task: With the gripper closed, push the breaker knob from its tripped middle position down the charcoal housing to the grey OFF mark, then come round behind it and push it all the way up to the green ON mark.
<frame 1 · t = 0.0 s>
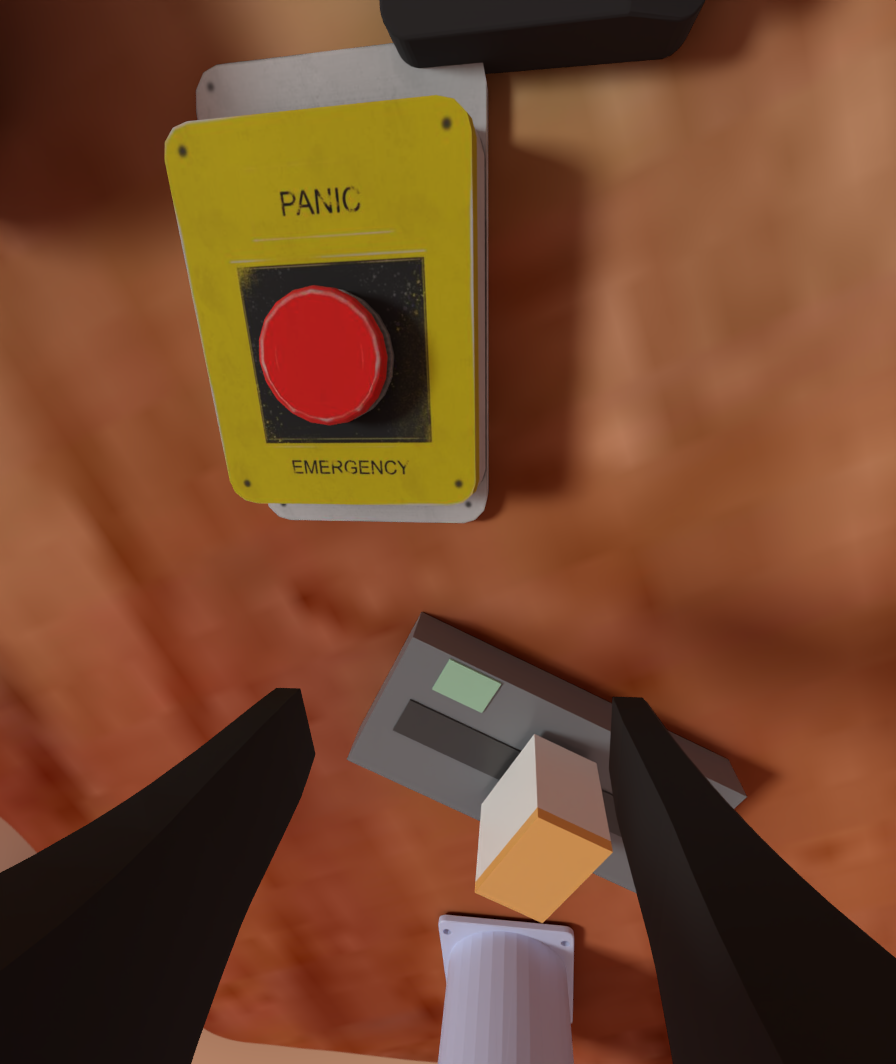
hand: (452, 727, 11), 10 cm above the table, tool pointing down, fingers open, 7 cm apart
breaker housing: (534, 743, 24), on the table
breaker knob: (538, 824, 20), point 4 cm above the table, slide at 5.0 cm
emergency button: (363, 324, 18), on the table, touching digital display
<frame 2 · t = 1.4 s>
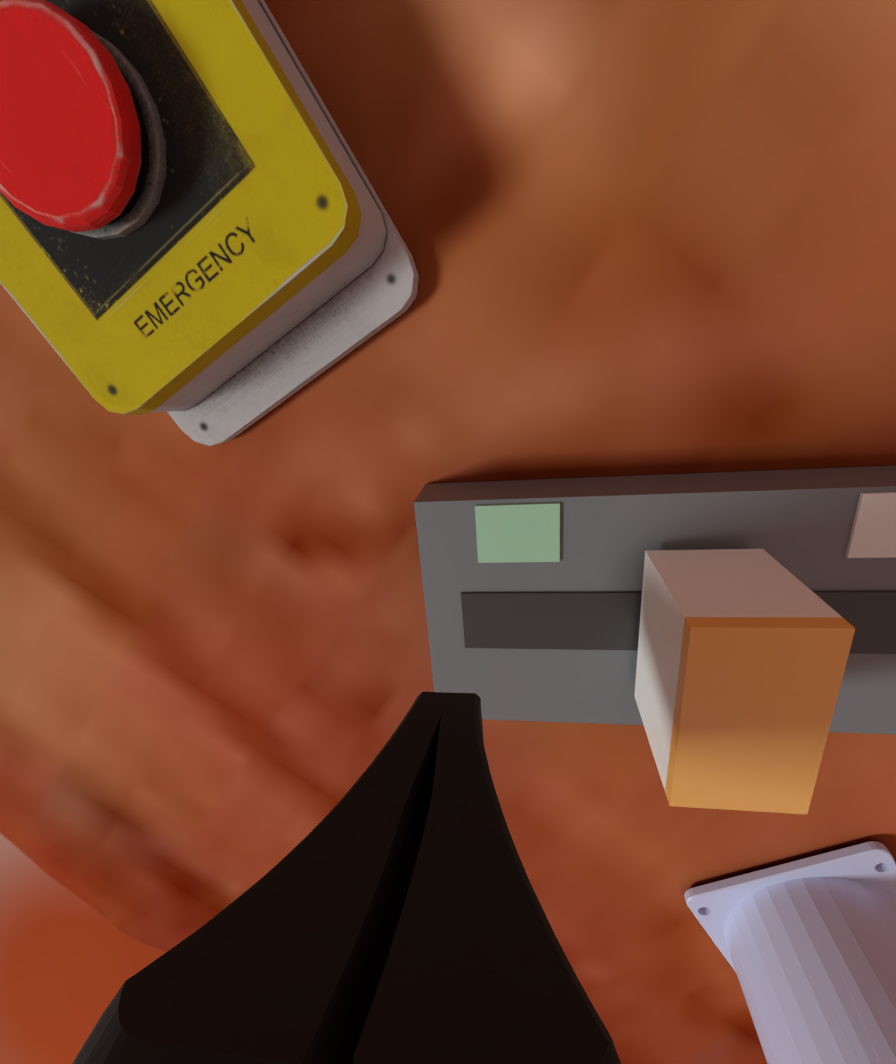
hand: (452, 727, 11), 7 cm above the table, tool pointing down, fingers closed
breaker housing: (669, 589, 16), on the table
breaker knob: (718, 670, 12), point 4 cm above the table, slide at 5.0 cm
emergency button: (158, 146, 14), on the table
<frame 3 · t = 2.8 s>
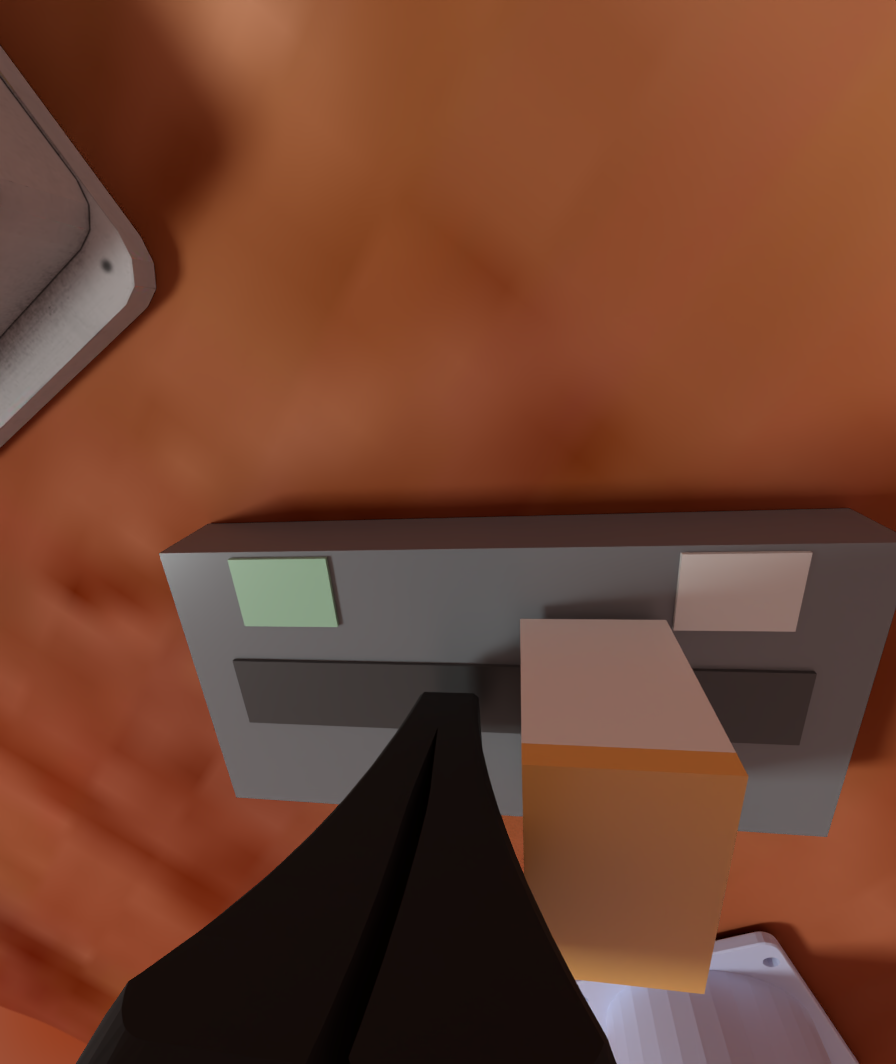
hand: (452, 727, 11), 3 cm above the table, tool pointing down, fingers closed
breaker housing: (502, 649, 14), on the table
breaker knob: (601, 784, 9), point 4 cm above the table, slide at 3.0 cm, touching gripper
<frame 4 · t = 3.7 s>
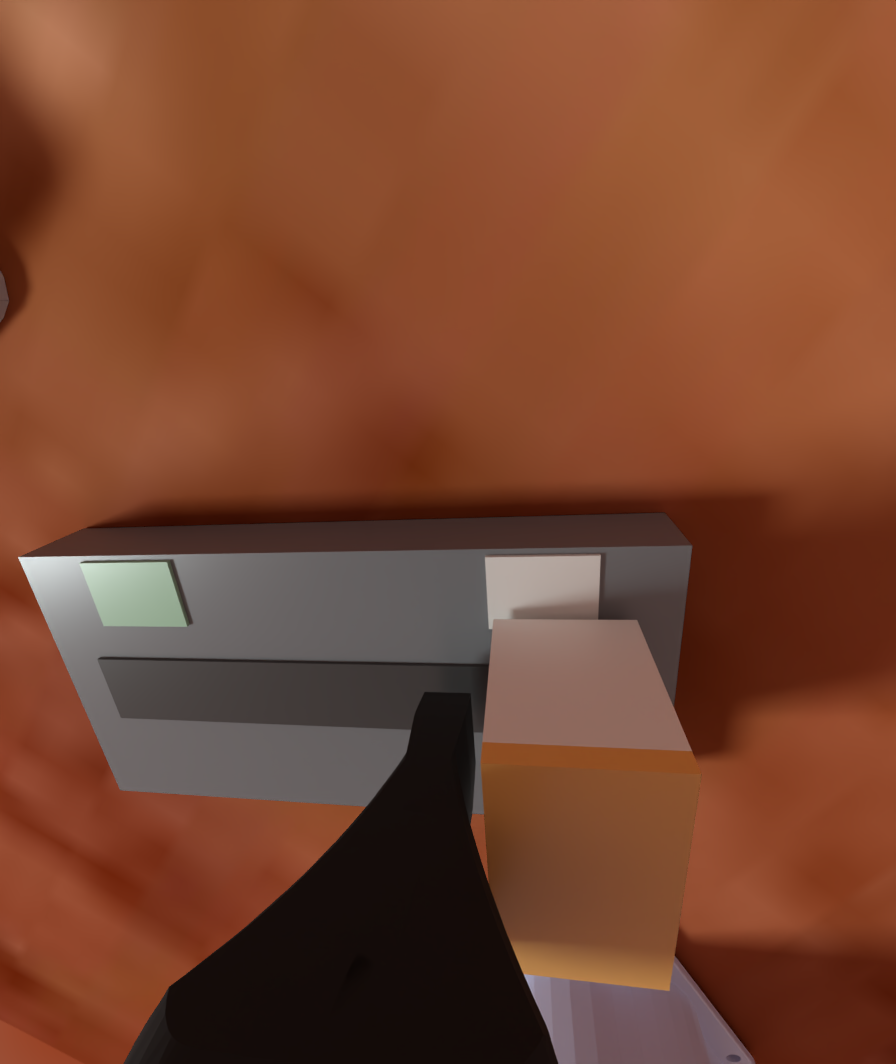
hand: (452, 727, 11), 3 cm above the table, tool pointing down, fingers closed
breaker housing: (367, 648, 14), on the table
breaker knob: (570, 783, 9), point 4 cm above the table, slide at -0.4 cm, touching gripper
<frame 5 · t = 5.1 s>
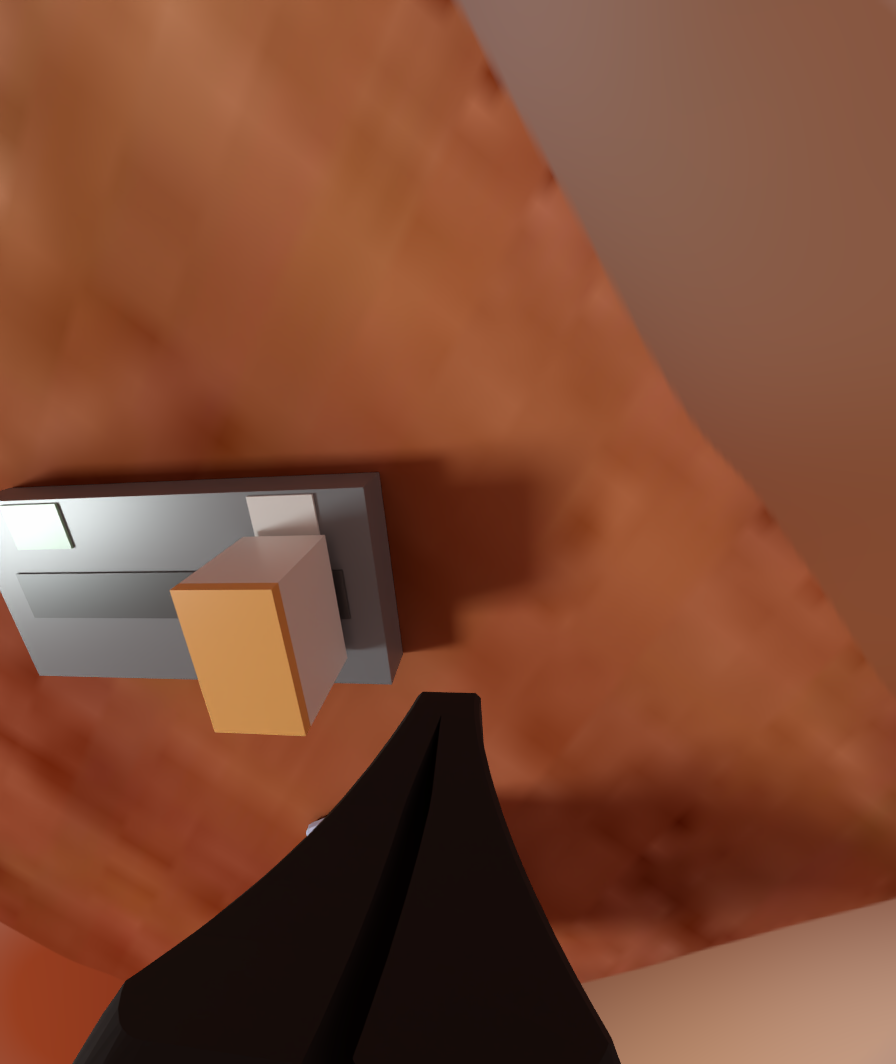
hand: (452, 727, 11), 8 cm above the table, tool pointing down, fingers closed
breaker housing: (208, 571, 21), on the table
breaker knob: (272, 629, 16), point 4 cm above the table, slide at -0.1 cm
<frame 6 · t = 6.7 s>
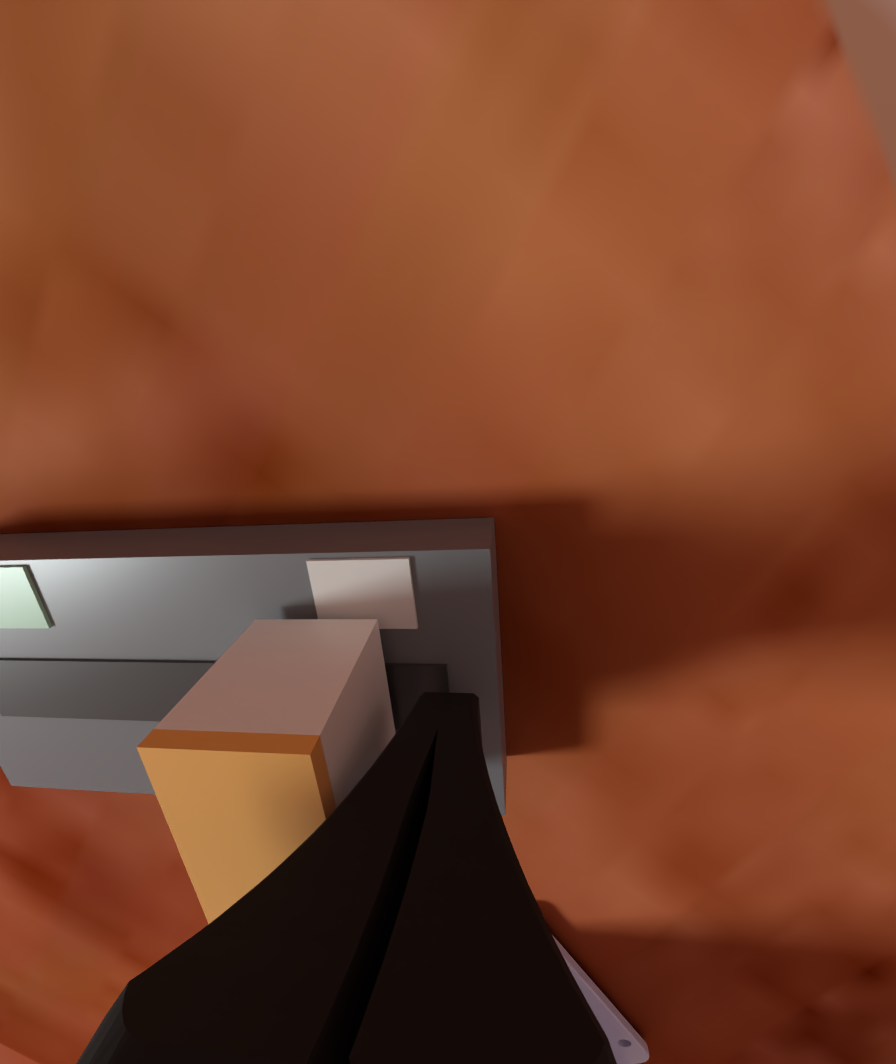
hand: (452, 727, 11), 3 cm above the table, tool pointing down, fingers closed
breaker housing: (240, 647, 15), on the table
breaker knob: (301, 769, 10), point 4 cm above the table, slide at 1.1 cm, touching gripper
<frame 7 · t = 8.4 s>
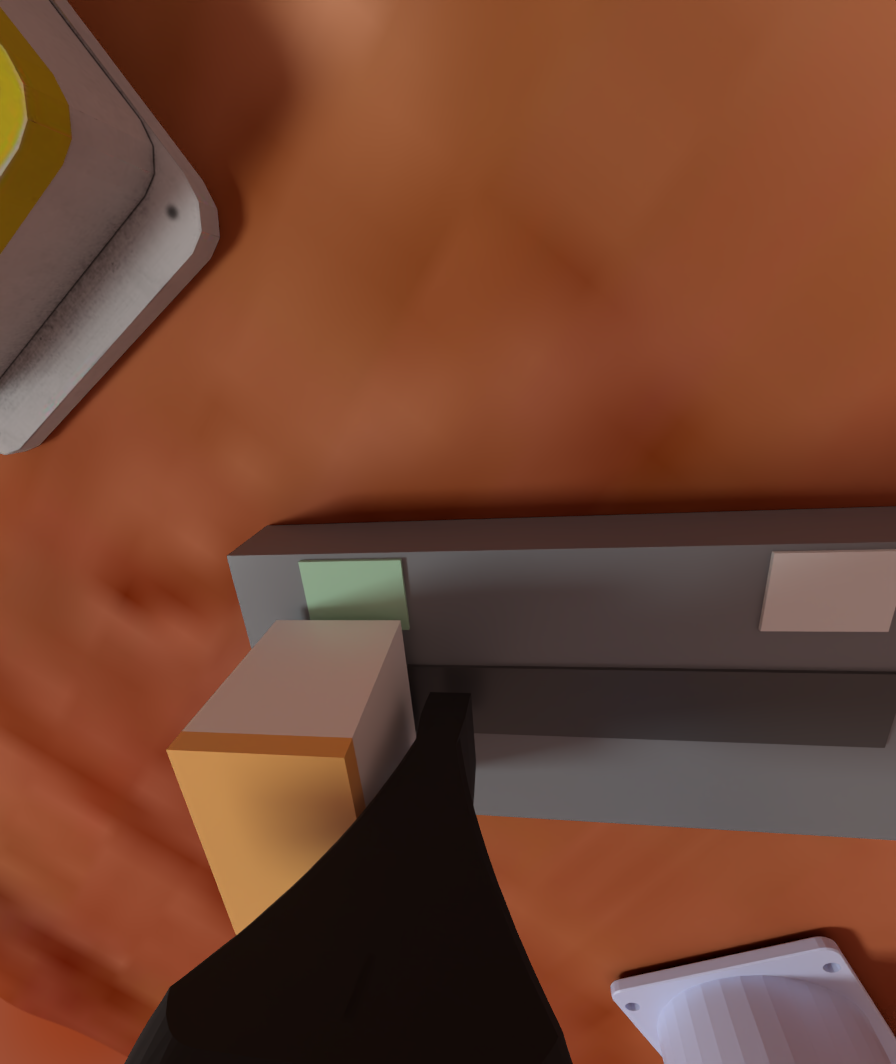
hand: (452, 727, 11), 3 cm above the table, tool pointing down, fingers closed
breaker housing: (566, 651, 13), on the table
breaker knob: (325, 771, 10), point 4 cm above the table, slide at 10.4 cm, touching gripper
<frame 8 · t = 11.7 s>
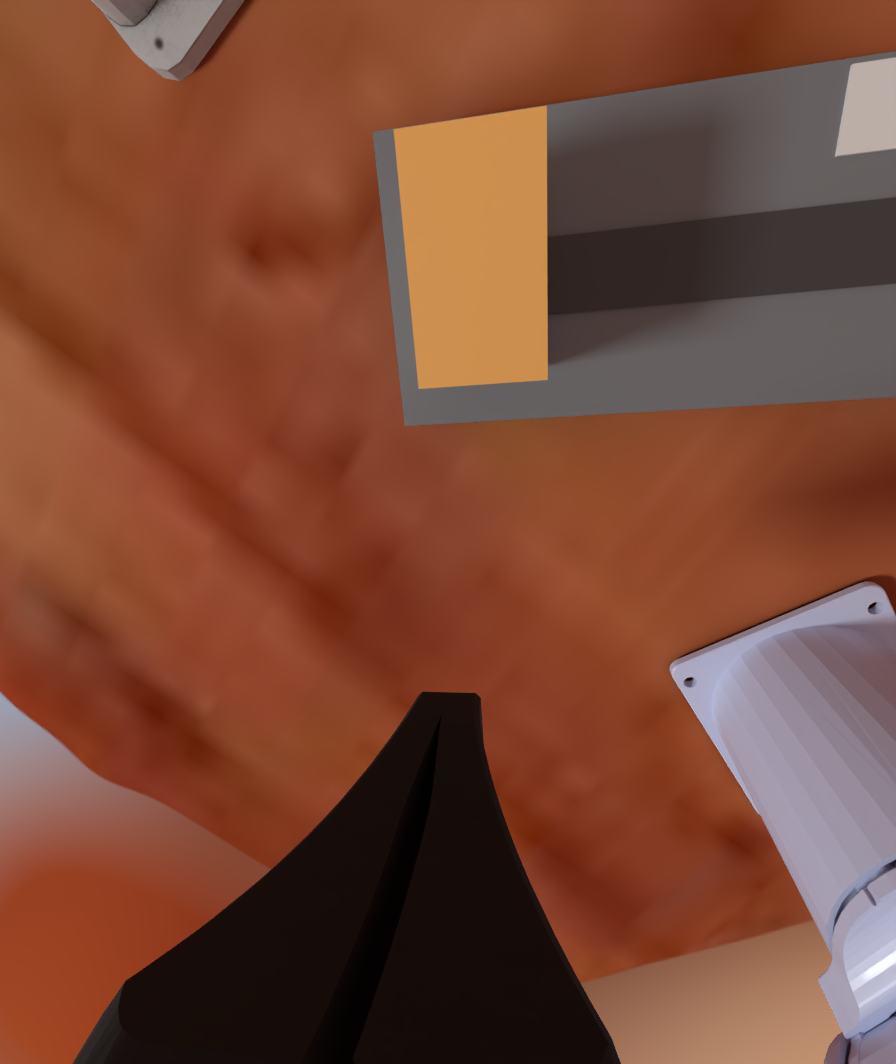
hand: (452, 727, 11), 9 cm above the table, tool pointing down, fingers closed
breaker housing: (650, 273, 15), on the table
breaker knob: (481, 273, 12), point 4 cm above the table, slide at 10.1 cm
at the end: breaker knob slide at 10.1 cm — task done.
